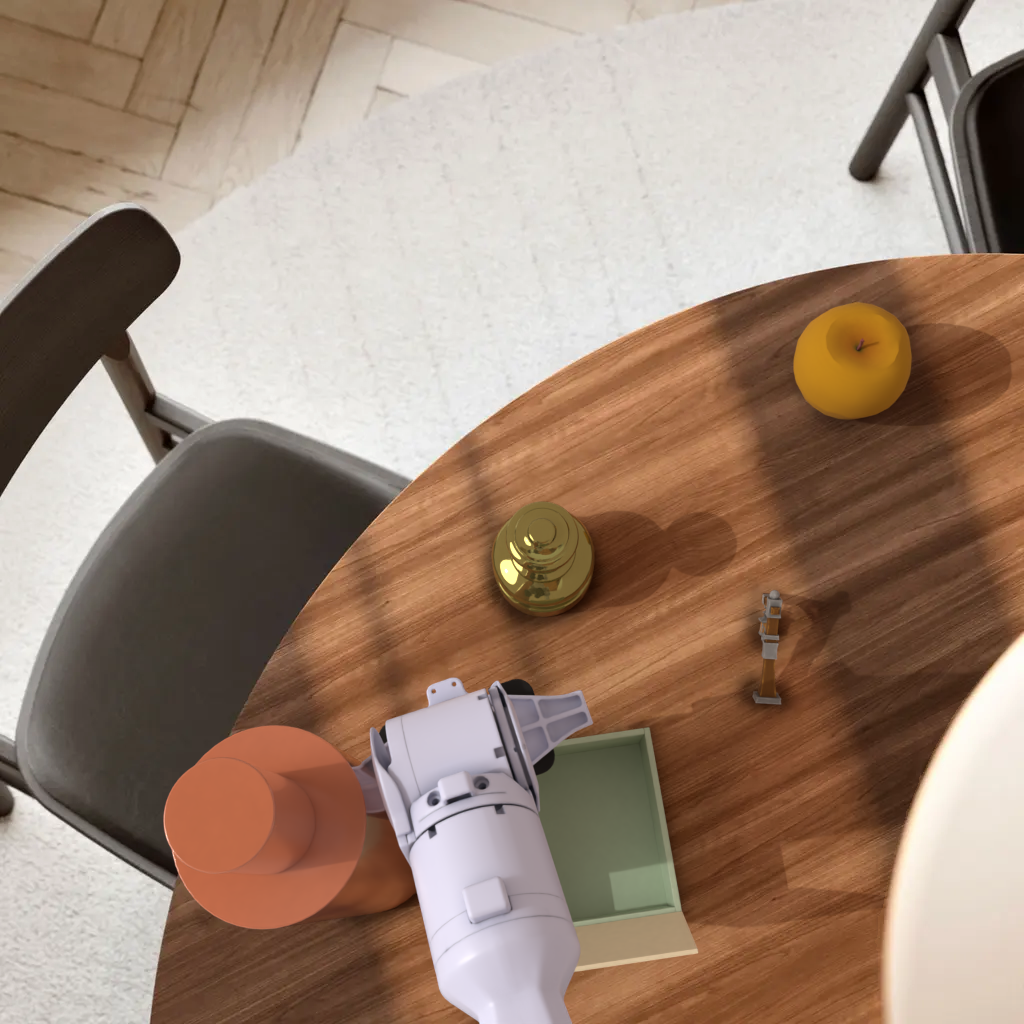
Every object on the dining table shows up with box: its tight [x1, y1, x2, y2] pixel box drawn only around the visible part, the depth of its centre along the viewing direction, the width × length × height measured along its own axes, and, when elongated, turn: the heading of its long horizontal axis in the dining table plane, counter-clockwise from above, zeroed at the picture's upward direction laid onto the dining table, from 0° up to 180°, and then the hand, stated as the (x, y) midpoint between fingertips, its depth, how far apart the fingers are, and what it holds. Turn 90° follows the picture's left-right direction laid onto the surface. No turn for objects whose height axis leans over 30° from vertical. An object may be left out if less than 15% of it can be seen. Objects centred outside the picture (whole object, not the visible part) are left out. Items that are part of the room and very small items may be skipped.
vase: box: [163, 724, 417, 930], centre depth 63 cm, size 9×9×38 cm
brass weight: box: [491, 500, 596, 618], centre depth 82 cm, size 7×7×10 cm
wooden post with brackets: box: [751, 589, 783, 705], centre depth 83 cm, size 2×8×4 cm, turn 176°
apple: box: [793, 301, 913, 420], centre depth 86 cm, size 8×8×9 cm
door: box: [574, 910, 699, 973], centre depth 70 cm, size 6×12×1 cm
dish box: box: [536, 726, 683, 927], centre depth 78 cm, size 12×12×6 cm
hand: (468, 741), depth 73 cm, fingers open, 4 cm apart
